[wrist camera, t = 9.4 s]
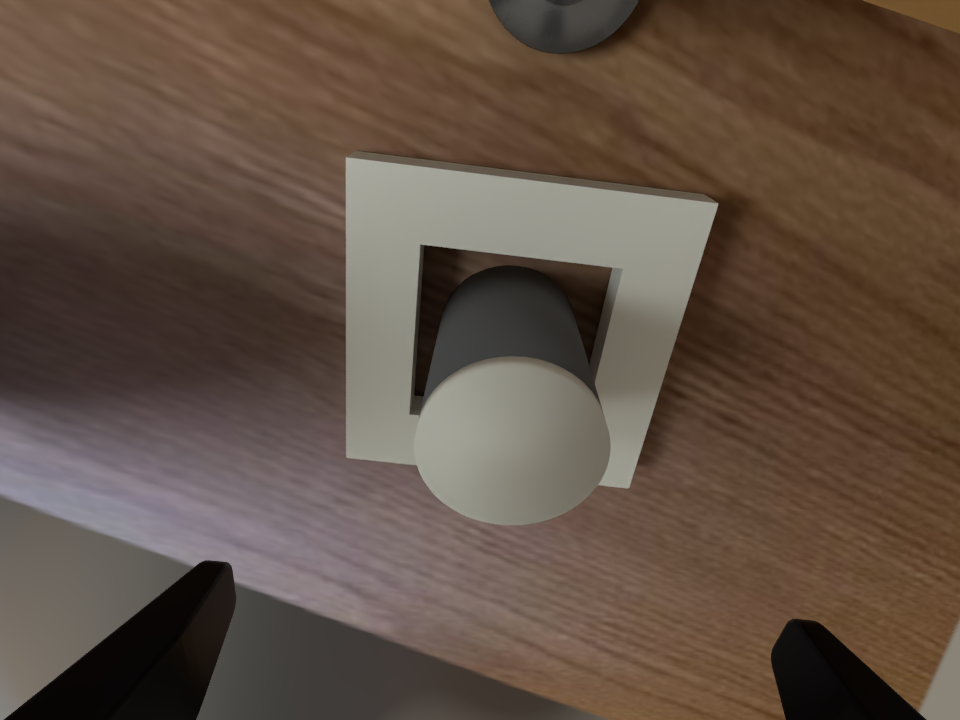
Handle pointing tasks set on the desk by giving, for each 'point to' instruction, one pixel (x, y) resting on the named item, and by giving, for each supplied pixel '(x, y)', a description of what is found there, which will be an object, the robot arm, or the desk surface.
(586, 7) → the post
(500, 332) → the plug
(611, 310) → the socket block
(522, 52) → the desk surface
